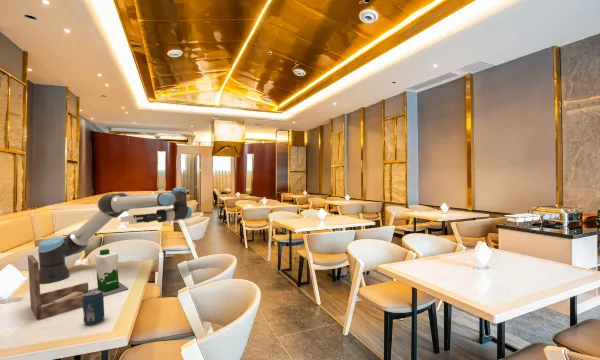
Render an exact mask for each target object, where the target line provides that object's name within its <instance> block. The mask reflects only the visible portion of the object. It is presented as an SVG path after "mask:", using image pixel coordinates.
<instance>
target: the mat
mask: <svg viewBox="0 0 600 360" xmlns="http://www.w3.org/2000/svg"><path fill="white" fill-rule="evenodd" d="M88 290H89V291H93V290H98V287H95V288H91V289H88ZM127 290H129V287H128V286H126V285H124V284H123V283H121V282H119V288H117V289H114V290H111V291H108V292H102V291H101V292H102V294H103V298H104V297H107V296H110V295H114V294H117V293H121V292H124V291H127Z"/></svg>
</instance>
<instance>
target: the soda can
mask: <svg viewBox="0 0 600 360" xmlns="http://www.w3.org/2000/svg"><path fill="white" fill-rule="evenodd" d="M83 295H84V297H83V307H82V314H83V315H82V316H83V322H84V324H85V325H87V326H95V325H98V324H100V323H101V322H102V321H103V320H104V318H105V304H104V301H105V300H104V297H103V294H102V292H101V290H93V291H89V292H87V293H85V294H83Z"/></svg>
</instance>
